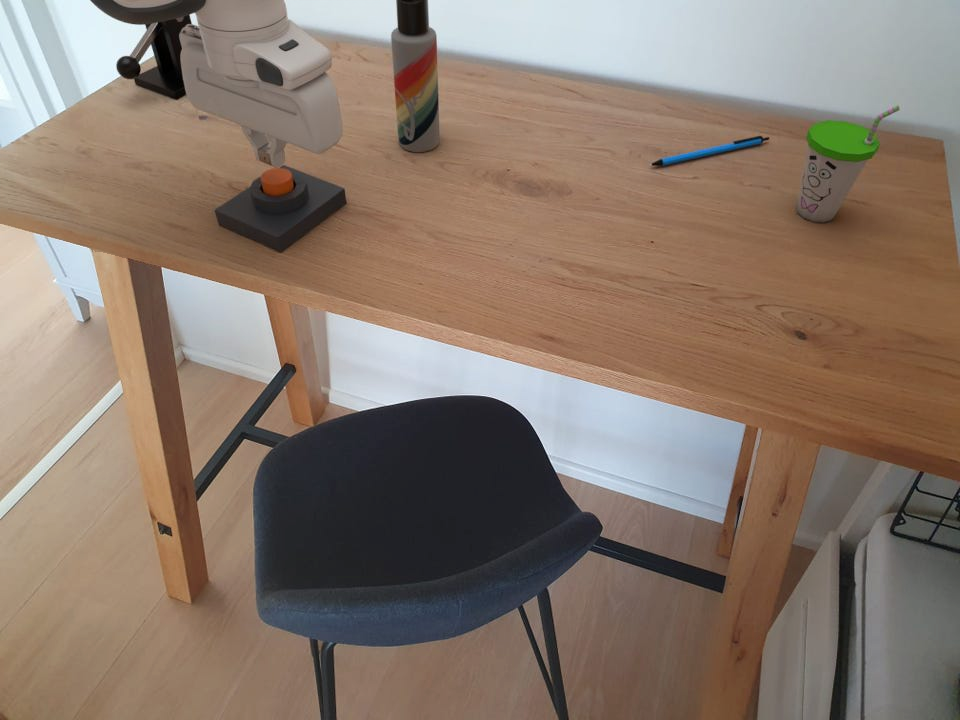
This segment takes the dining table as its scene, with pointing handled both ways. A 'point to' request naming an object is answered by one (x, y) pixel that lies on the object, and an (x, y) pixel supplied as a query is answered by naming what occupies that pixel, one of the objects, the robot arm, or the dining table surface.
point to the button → (277, 182)
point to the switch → (137, 53)
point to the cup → (834, 165)
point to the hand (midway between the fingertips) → (271, 162)
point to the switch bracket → (166, 60)
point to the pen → (711, 151)
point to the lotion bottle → (415, 77)
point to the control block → (281, 210)
